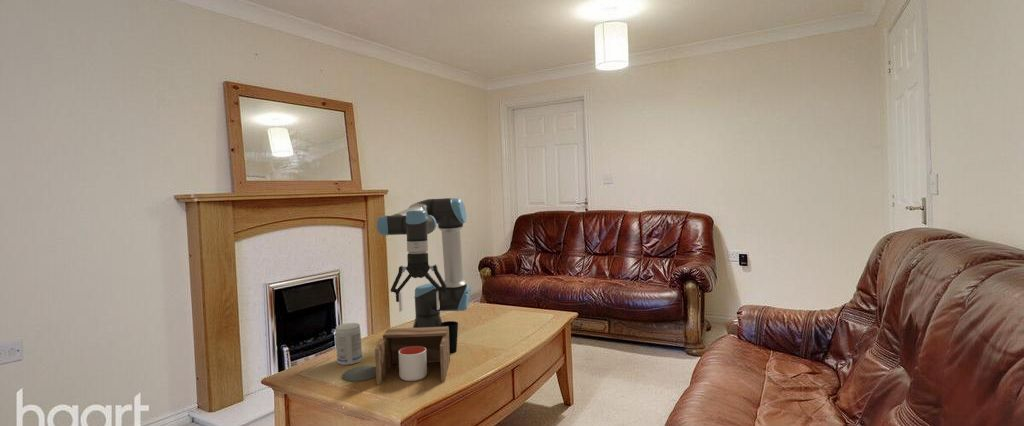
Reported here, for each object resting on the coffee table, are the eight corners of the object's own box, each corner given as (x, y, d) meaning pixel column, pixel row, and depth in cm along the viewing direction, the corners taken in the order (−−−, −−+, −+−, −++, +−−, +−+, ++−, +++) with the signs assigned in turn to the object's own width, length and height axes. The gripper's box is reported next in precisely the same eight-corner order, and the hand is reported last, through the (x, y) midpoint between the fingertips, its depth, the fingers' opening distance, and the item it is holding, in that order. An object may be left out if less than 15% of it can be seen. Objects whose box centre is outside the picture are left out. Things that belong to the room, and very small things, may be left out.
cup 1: (401, 372, 184) (400, 346, 184) (428, 371, 185) (427, 345, 185) (397, 383, 174) (396, 355, 174) (426, 381, 175) (424, 353, 175)
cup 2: (455, 354, 203) (454, 326, 202) (438, 354, 204) (437, 325, 203) (461, 348, 210) (460, 321, 209) (444, 348, 212) (443, 320, 211)
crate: (389, 363, 195) (388, 328, 195) (450, 360, 196) (448, 325, 195) (376, 384, 173) (374, 345, 173) (444, 381, 174) (443, 343, 173)
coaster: (348, 368, 191) (348, 366, 191) (385, 366, 191) (384, 365, 191) (337, 382, 177) (337, 380, 177) (376, 380, 177) (376, 379, 177)
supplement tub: (360, 356, 205) (358, 321, 204) (363, 362, 196) (362, 326, 196) (335, 360, 201) (334, 324, 200) (338, 367, 192) (336, 330, 191)
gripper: (381, 254, 175) (383, 313, 176) (451, 252, 177) (453, 310, 177) (385, 252, 183) (387, 308, 183) (452, 250, 184) (454, 306, 185)
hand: (419, 309), depth 180 cm, fingers open, 13 cm apart
